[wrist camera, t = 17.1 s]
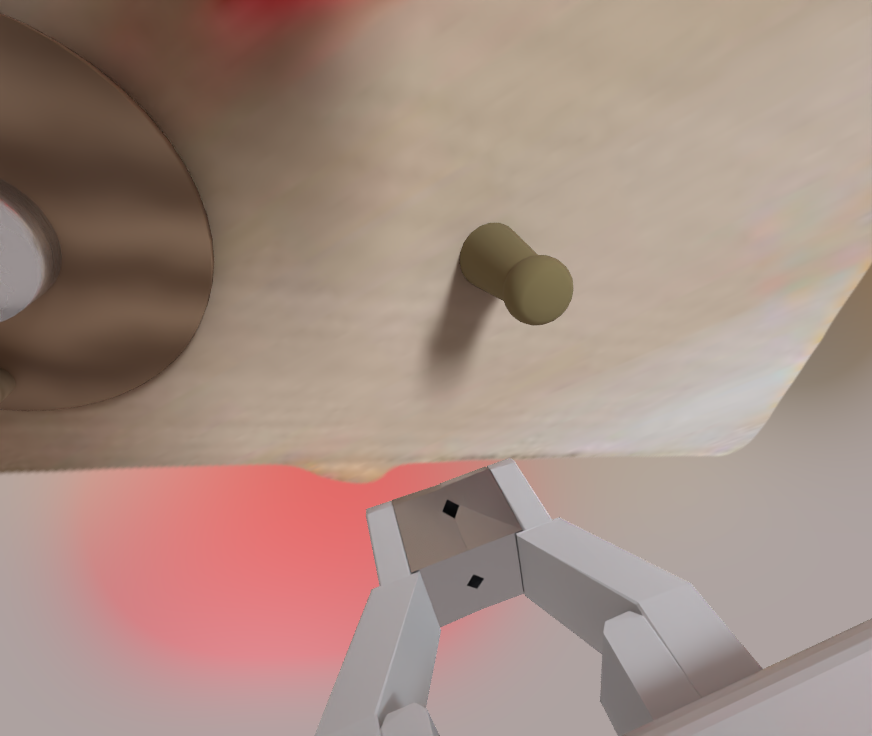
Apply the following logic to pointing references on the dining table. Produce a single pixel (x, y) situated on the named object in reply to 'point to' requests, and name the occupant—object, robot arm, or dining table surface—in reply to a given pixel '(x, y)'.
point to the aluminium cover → (24, 251)
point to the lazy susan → (96, 231)
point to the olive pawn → (516, 274)
